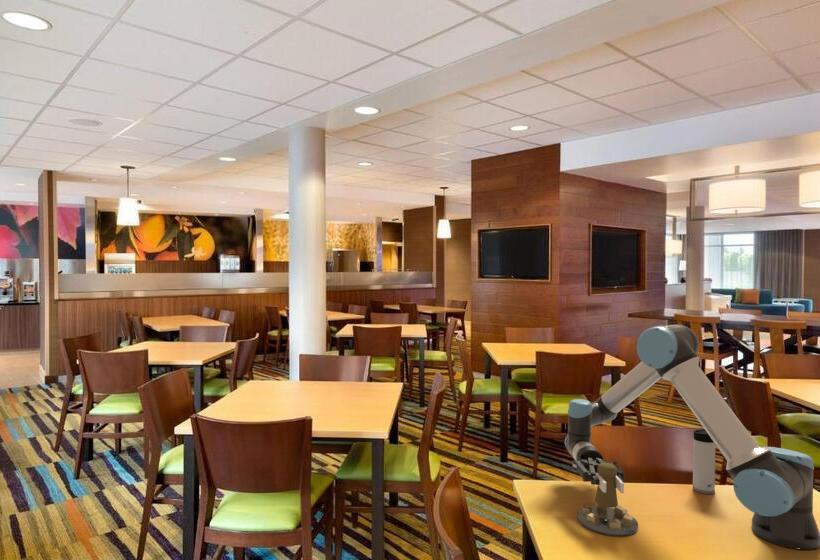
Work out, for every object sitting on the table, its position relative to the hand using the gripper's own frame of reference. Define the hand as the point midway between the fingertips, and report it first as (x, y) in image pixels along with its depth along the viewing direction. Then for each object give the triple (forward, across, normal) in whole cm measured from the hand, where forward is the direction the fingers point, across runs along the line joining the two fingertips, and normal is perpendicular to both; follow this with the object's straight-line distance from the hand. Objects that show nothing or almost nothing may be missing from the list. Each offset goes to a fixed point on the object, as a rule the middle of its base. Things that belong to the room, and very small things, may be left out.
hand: (613, 487), depth 140 cm
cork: (-5, 0, -7) cm, 9 cm away
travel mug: (-30, -40, -12) cm, 51 cm away
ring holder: (-5, 0, -12) cm, 13 cm away
